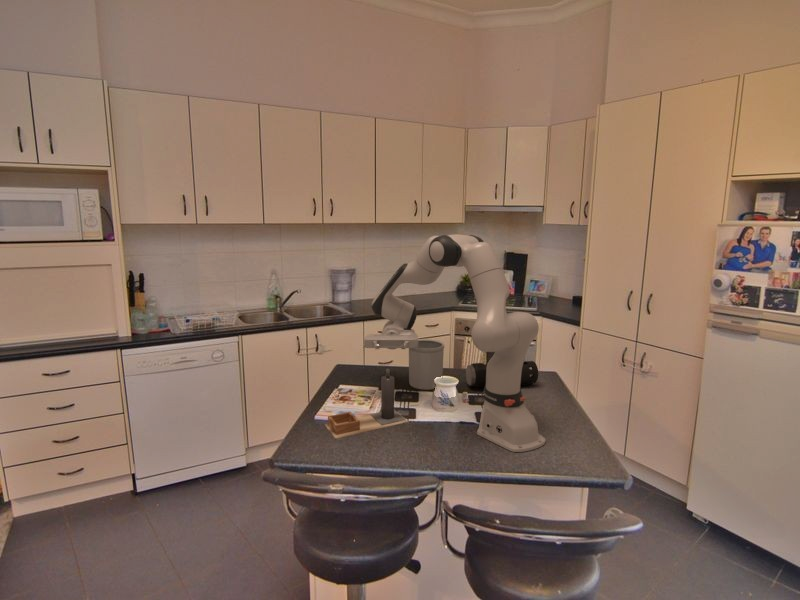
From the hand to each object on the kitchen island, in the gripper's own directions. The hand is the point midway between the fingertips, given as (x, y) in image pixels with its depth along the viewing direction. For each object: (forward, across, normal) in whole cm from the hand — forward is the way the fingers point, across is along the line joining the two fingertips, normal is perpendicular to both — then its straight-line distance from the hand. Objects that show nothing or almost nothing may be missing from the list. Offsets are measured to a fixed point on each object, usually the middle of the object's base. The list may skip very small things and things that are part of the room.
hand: (390, 347), depth 168 cm
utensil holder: (-24, +13, +23) cm, 36 cm away
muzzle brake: (-23, +44, +24) cm, 55 cm away
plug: (+12, 0, +21) cm, 24 cm away
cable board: (+16, -7, +23) cm, 29 cm away
